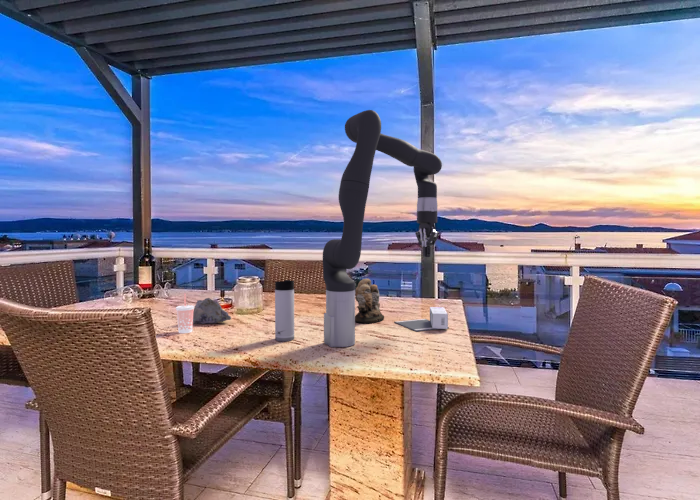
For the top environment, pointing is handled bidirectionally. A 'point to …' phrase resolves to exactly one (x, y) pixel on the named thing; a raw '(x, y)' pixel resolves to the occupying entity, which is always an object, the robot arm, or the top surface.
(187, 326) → the beverage cup
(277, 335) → the travel mug
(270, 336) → the top surface
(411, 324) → the mat
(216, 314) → the mineral rock
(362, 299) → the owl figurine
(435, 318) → the syrup box
